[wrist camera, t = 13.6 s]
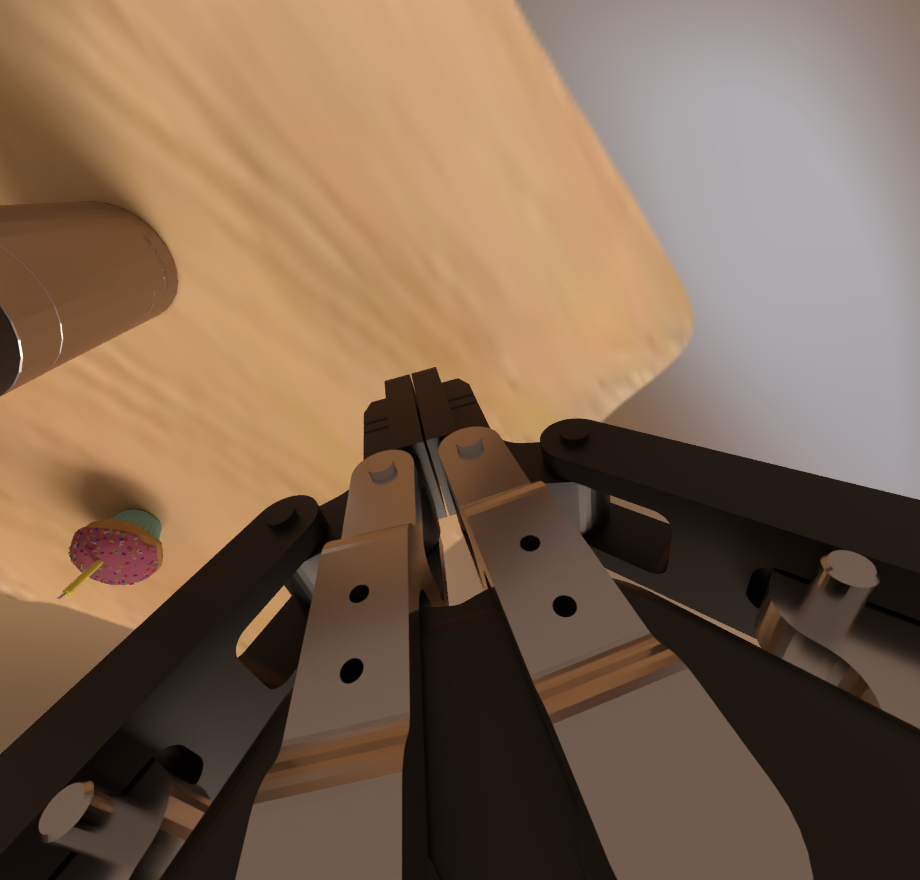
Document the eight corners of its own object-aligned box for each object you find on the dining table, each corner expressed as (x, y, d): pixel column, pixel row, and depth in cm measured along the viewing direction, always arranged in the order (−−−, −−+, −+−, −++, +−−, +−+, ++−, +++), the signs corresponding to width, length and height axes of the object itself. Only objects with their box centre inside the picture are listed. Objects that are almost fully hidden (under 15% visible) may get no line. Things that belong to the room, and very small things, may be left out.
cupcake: (83, 501, 47) (-8, 589, 36) (161, 492, 47) (93, 576, 37) (122, 554, 51) (50, 645, 41) (192, 545, 52) (139, 633, 41)
